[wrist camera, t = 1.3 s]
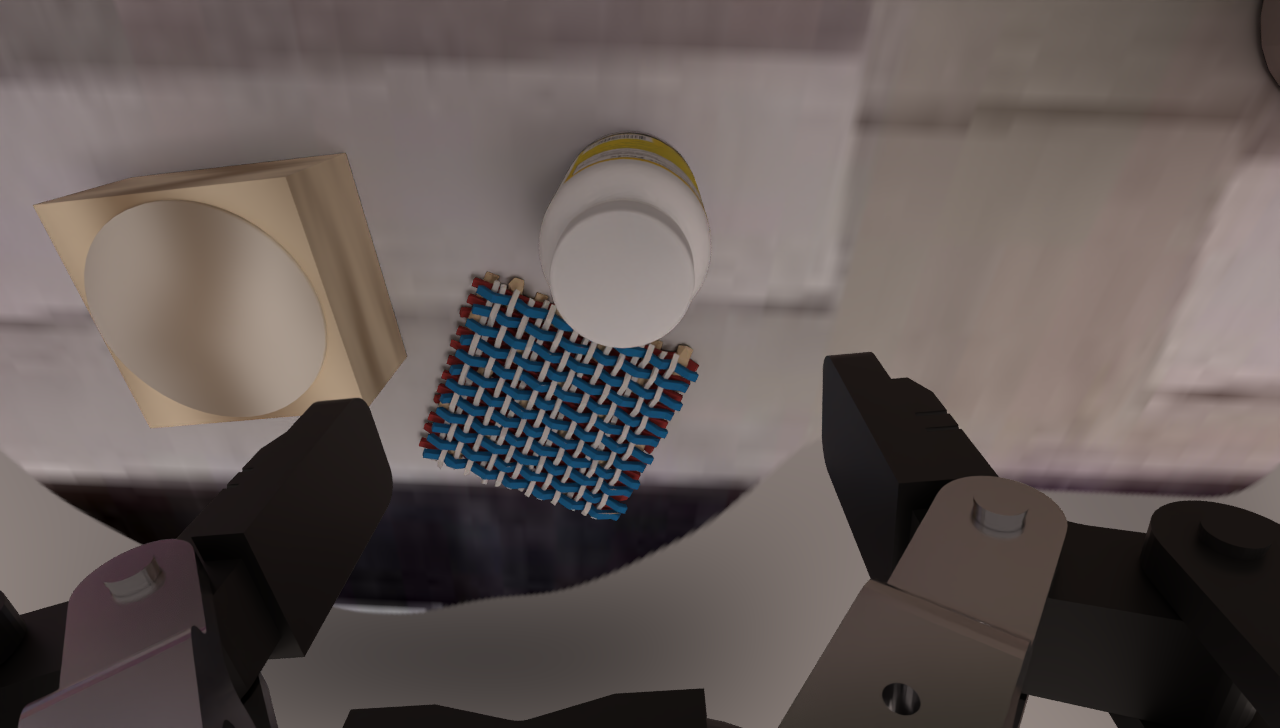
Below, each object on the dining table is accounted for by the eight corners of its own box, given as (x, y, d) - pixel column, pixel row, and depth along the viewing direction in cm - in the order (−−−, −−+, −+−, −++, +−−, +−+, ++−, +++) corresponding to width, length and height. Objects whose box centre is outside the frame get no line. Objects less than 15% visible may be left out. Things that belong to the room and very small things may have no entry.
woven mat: (481, 254, 28) (469, 270, 26) (704, 345, 30) (707, 365, 28) (419, 440, 33) (405, 464, 31) (617, 510, 34) (614, 537, 33)
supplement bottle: (642, 288, 28) (635, 405, 20) (538, 209, 27) (480, 296, 18) (727, 189, 26) (761, 269, 18) (619, 98, 25) (599, 135, 16)
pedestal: (345, 153, 26) (280, 178, 21) (407, 356, 30) (363, 413, 26) (131, 177, 27) (25, 207, 22) (219, 373, 31) (144, 432, 26)
